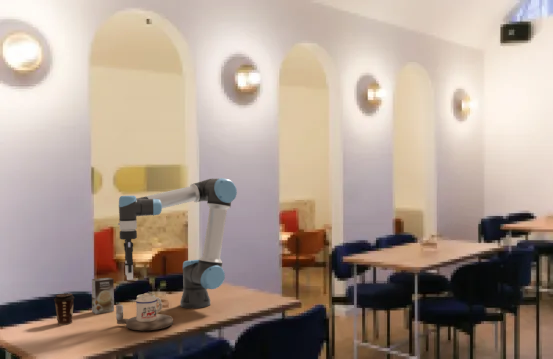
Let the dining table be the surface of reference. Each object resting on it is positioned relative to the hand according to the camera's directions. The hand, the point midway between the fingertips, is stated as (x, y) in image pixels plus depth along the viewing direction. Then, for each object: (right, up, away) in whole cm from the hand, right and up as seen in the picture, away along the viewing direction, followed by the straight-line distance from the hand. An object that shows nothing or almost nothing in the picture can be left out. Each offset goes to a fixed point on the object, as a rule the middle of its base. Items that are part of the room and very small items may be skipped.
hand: (129, 277), depth 270 cm
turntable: (+8, -20, -6) cm, 22 cm away
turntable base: (+10, -21, -6) cm, 24 cm away
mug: (+7, -21, +14) cm, 26 cm away
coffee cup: (-30, -22, +4) cm, 37 cm away
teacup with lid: (+10, -18, -5) cm, 21 cm away
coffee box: (-19, -21, +25) cm, 38 cm away
